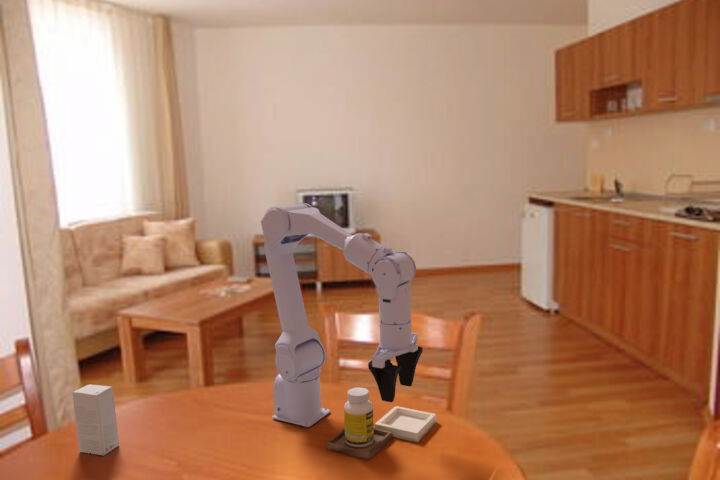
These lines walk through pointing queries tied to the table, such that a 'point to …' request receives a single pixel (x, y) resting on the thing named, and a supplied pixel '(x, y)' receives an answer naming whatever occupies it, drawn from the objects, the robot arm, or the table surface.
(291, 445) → the table surface
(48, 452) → the table surface
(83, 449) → the skincare box
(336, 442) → the gray square tray
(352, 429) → the supplement bottle
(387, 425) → the cream tray
